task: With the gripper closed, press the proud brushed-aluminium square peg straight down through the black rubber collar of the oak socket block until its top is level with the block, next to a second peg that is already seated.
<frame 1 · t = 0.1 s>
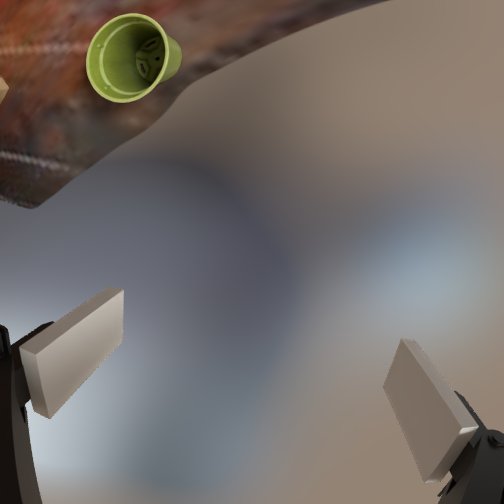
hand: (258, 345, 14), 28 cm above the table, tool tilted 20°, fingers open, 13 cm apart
plant pot: (159, 59, 33), on the table
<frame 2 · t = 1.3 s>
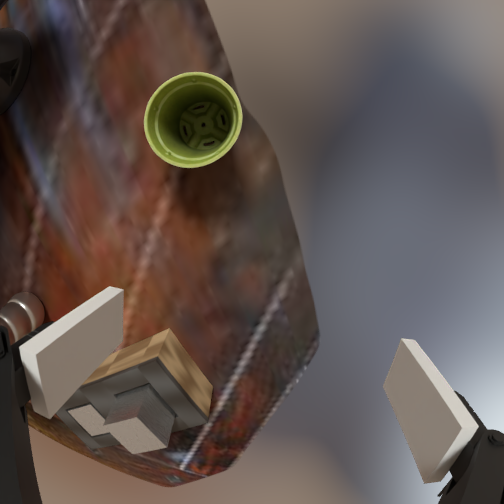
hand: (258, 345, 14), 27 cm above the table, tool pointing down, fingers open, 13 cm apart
seated peg: (107, 390, 48), resting in socket block
plastic bottle: (34, 304, 44), on the table
plant pot: (204, 126, 36), on the table
socket block: (131, 382, 47), on the table
peg: (141, 417, 37), point 10 cm above the table, slide at 6.0 cm
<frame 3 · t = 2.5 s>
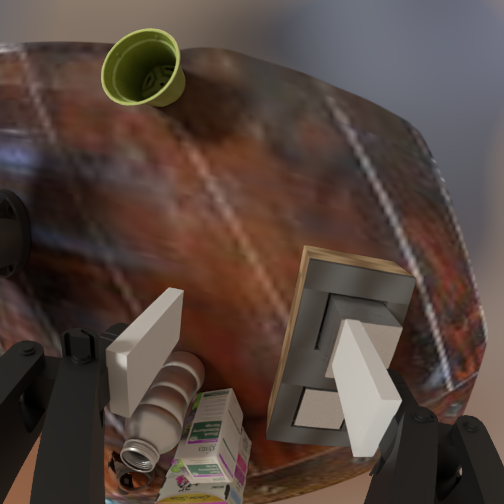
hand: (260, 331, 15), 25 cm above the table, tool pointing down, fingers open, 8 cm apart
seated peg: (317, 376, 43), resting in socket block
syrup box: (221, 403, 46), on the table
plastic bottle: (186, 364, 45), on the table
plant pot: (164, 86, 37), on the table
candy bar box: (216, 436, 48), on the table
socket block: (328, 341, 42), on the table
peg: (355, 335, 31), point 10 cm above the table, slide at 6.0 cm
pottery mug: (133, 463, 52), on the table
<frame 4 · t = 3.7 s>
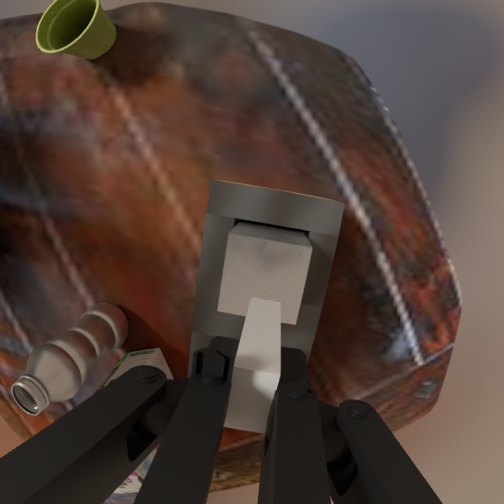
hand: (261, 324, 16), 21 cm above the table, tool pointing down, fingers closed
syrup box: (151, 366, 42), on the table
plastic bottle: (113, 319, 41), on the table
plant pot: (99, 41, 33), on the table
candy bar box: (151, 407, 44), on the table
socket block: (259, 293, 38), on the table
peg: (265, 267, 27), point 10 cm above the table, slide at 6.0 cm
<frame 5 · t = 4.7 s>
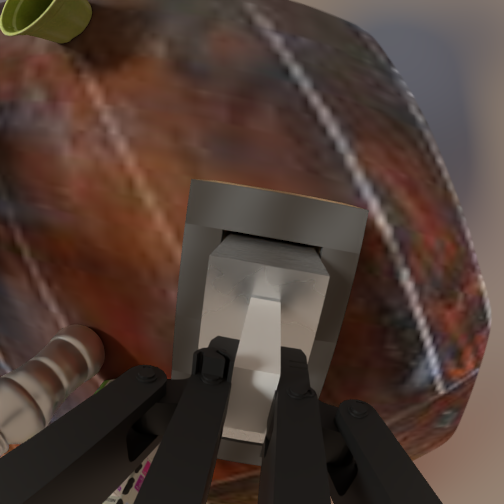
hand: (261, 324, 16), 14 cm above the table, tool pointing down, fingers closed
seated peg: (247, 367, 33), resting in socket block
plastic bottle: (88, 342, 34), on the table
plant pot: (73, 22, 26), on the table
candy bar box: (136, 437, 37), on the table
socket block: (257, 318, 31), on the table
peg: (262, 297, 20), point 10 cm above the table, slide at 5.9 cm, touching gripper
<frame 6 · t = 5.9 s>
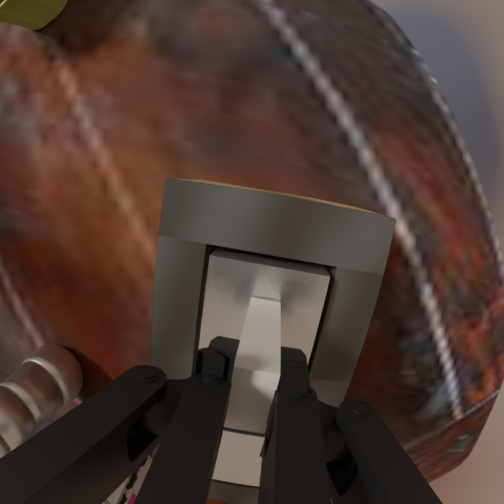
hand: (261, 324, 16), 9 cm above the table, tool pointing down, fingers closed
seated peg: (243, 397, 27), resting in socket block
plastic bottle: (66, 363, 29), on the table
plant pot: (49, 7, 21), on the table
candy bar box: (123, 462, 32), on the table
socket block: (253, 343, 26), on the table
peg: (263, 297, 20), point 5 cm above the table, slide at 0.6 cm, touching gripper
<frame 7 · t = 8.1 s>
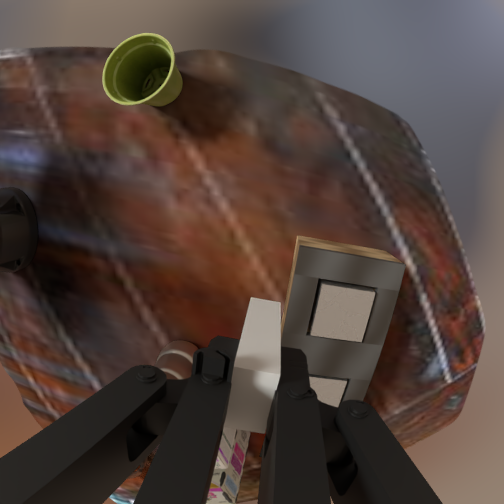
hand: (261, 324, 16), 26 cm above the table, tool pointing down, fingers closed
seated peg: (314, 365, 45), resting in socket block
syrup box: (220, 393, 47), on the table
plastic bottle: (185, 353, 47), on the table
plant pot: (163, 87, 39), on the table
candy bar box: (215, 427, 49), on the table
socket block: (323, 330, 43), on the table
peg: (338, 302, 37), point 5 cm above the table, slide at 0.6 cm
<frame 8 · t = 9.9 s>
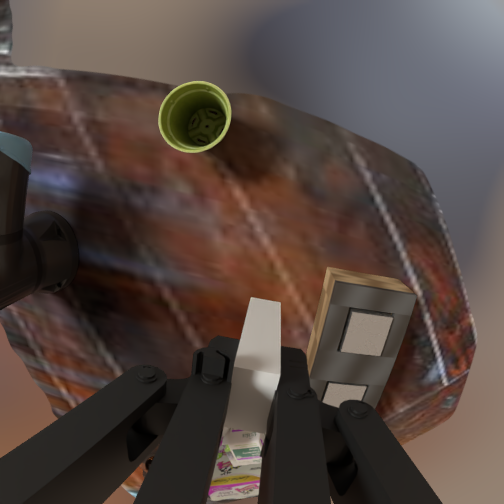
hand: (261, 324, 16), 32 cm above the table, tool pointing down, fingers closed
seated peg: (335, 373, 52), resting in socket block
syrup box: (253, 398, 54), on the table
plant pot: (208, 127, 46), on the table
candy bar box: (246, 428, 56), on the table
socket block: (344, 343, 51), on the table
peg: (361, 323, 45), point 5 cm above the table, slide at 0.6 cm
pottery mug: (156, 450, 60), on the table
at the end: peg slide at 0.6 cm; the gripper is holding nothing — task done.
